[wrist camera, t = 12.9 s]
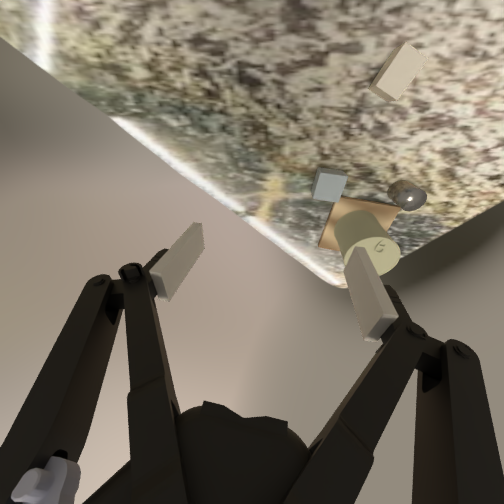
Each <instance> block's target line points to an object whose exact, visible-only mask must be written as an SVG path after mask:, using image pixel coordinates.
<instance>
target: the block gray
mask: <svg viewBox="0 0 504 504" xmlns="http://www.w3.org/2000/svg"><path fill="white" fill-rule="evenodd" d="M347 178H348V176H347V175H346V174H345V173H344V171H342V170H335V169H328V168H321V167H318V169H317V172H316V176H315V179H314V183H313V186H312V190H311V192H312V197H313V199H318V200H324V201H331V202H337V203H338V202H339V200H340V197H341V194H342V192H343V189H344V186H345V184H346V181H347Z"/></svg>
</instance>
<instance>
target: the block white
mask: <svg viewBox="0 0 504 504" xmlns="http://www.w3.org/2000/svg"><path fill="white" fill-rule="evenodd" d="M427 61H428V58H427V57H426V56H424V55H423V54H422V53H420V52H419V51H418V50H417V49H415V48H414V47H413V46H411V45H410V44H409V43H407V42H405V43H403V44H402V45H400V46H399V47H397V48H396V49H394V50H393V52H392V53H391V55H390V56H389V58H388V59H387V61H386V62H385V64H384V65H383V67H382V68H381V70H380V71H379V73H378V74H377V76H376V77H375V79H374V80H373V82H372V83H371V85H370V86H369V88H368V89H369V90H371V91H372V92H374V93H375V94H377V95H378V96H379V97H381V98H382V99H384V100H385V101H387V102H390V101H397V100H398V99H399V97H400V96H401V95H402V93H403V92H404V91H405V90H406V88H407V87H408V86H409V84H410V83H411V82H412V80H413V79H414V78H415V76H416V75H417V74H418V72H419V71H420V70H421V68H422V67H423V66H424V65H425V63H426V62H427Z"/></svg>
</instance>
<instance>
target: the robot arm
mask: <svg viewBox="0 0 504 504" xmlns="http://www.w3.org/2000/svg"><path fill="white" fill-rule="evenodd" d="M203 250H204V240H203V230H202V224H201V223H195V222H194V223H193V224H192V225H191V226H190V227H189V228H188V229H187V230H186V231H185V232H184V233H183V235H182V236H181V237H180V238H179V239H178V240H177V241H176V242H175V243H174V244H173V245H172V247H171V248H170V249H163V250H161V251H159V252H158V253H157V254H156V255H155V256H154V257H153V258H152V259H151V261H149V262H148V263H147V264H146V265H145V266H144V267H143V268H142V265H141V264H139V263H129V264H126V265H124V266H122V267H121V268H120V269H119V271H118V273H119V275H120V278H121V279H119V280H112V279H111V277H110V276H109V275H105V274H101V275H97V276H95V277H93V278H91V279H90V280H89V281H88V282H87V283H86V285H85V287H84V289H83V290H82V292H81V294H80V296H79V298H78V300H77V302H76V304H75V306H74V308H73V310H72V312H71V314H70V315H69V317H68V319H67V321H66V323H65V325H64V327H63V329H62V331H61V333H60V335H59V337H58V338H57V341H56V342H55V344H54V346H53V348H52V350H51V352H50V354H49V356H48V358H47V360H46V362H45V363H44V365H43V367H42V369H41V371H40V373H39V375H38V377H37V379H36V381H35V383H34V385H33V387H32V388H31V390H30V393H29V394H28V396H27V398H26V400H25V402H24V404H23V406H22V408H21V410H20V412H19V413H18V415H17V417H16V419H15V421H14V423H13V425H12V427H11V429H10V431H9V433H8V435H7V437H6V438H5V441H4V442H3V444H2V446H1V447H0V504H74V497H75V494H76V492H77V490H78V487H79V480H80V475H81V471H80V467H79V465H78V464H77V462H78V460H79V457H80V455H81V452H82V450H83V448H84V445H85V442H86V439H87V436H88V433H89V430H90V426H91V423H92V419H93V416H94V412H95V408H96V405H97V401H98V398H99V394H100V390H101V386H102V383H103V380H104V376H105V373H106V369H107V365H108V362H109V358H110V354H111V351H112V347H113V344H114V340H115V337H116V333H117V329H118V326H119V322H120V319H121V315H122V311H123V309H125V321H126V334H127V348H128V361H129V375H130V392H129V393H128V396H127V408H128V425H129V442H130V460H129V461H128V462H127V463H126V464H125V465H124V466H123V467H122V468H121V469H120V470H118V471H117V472H116V473H115V474H114V475H113V476H112V477H111V478H110V479H109V480H108V481H107V482H105V483H104V484H103V485H102V486H101V487H100V488H99V489H98V490H97V491H96V492H94V493H93V494H92V495H91V496H90V497H89V498H88V499H87V500H86V501H85V502H84V503H82V504H354V503H355V501H356V499H357V497H358V494H359V492H360V490H361V488H362V486H363V484H364V482H365V480H366V478H367V476H368V473H369V471H370V469H371V467H372V465H373V462H374V456H373V452H374V449H375V447H376V445H377V443H378V441H379V439H380V437H381V435H382V433H383V431H384V429H385V427H386V425H387V423H388V421H389V419H390V417H391V415H392V413H393V411H394V409H395V407H396V405H397V403H398V401H399V399H400V397H401V395H402V392H403V391H404V389H405V387H406V385H407V383H408V380H409V379H410V376H411V375H412V373H413V371H414V368H415V369H417V370H418V378H417V400H416V402H417V403H416V422H415V445H414V467H413V489H412V504H504V475H503V470H502V465H501V461H500V456H499V451H498V446H497V442H496V437H495V433H494V427H493V423H492V418H491V413H490V408H489V403H488V399H487V394H486V389H485V385H484V380H483V375H482V370H481V365H480V360H479V358H478V356H477V354H476V353H475V352H474V351H473V350H472V349H471V348H470V347H469V346H467V345H466V344H464V343H462V342H460V341H458V340H454V339H450V340H447V341H446V342H445V343H443V342H441V341H439V340H437V339H434V338H432V337H430V336H428V335H427V333H426V331H425V330H424V329H423V328H422V327H420V326H419V325H417V324H416V323H414V322H412V320H411V318H410V317H409V315H408V313H407V311H406V309H405V307H404V305H403V304H402V302H401V300H400V299H399V296H398V295H397V293H396V291H395V290H394V289H393V288H392V287H391V286H390V285H384V284H383V283H382V281H381V279H380V277H379V275H378V273H377V271H376V269H375V267H374V265H373V263H372V261H371V259H370V257H369V255H368V253H367V251H366V249H365V247H358V246H355V247H354V249H353V251H352V254H351V256H350V258H349V260H348V262H347V264H346V267H345V269H344V275H345V278H346V282H347V285H348V289H349V292H350V295H351V298H352V302H353V306H354V309H355V312H356V316H357V319H358V323H359V326H360V330H361V333H362V337H363V340H365V341H370V342H375V343H376V342H377V341H378V340H379V339H380V338H381V339H382V342H383V344H382V345H381V347H380V348H379V349H378V350H377V351H376V354H375V355H374V357H373V358H372V359H371V361H370V362H369V364H368V365H367V367H366V368H365V369H364V371H363V372H362V374H361V375H360V377H359V378H358V379H357V381H356V382H355V384H354V385H353V387H352V388H351V389H350V391H349V392H348V394H347V395H346V397H345V398H344V399H343V401H342V402H341V404H340V405H339V407H338V408H337V409H336V411H335V412H334V414H333V415H332V417H331V418H330V419H329V421H328V422H327V424H326V425H325V427H324V428H323V430H322V431H321V432H320V433H319V435H318V436H317V437H316V439H315V440H314V441H313V442H312V444H311V445H310V447H309V448H307V446H306V445H305V443H304V442H303V441H302V440H301V438H299V436H298V435H297V434H296V433H295V432H293V431H292V430H291V429H289V428H288V422H287V421H284V420H280V419H276V418H272V417H267V416H263V417H251V418H243V417H241V416H239V415H238V414H236V413H235V412H233V411H231V410H230V409H228V408H227V407H225V406H224V405H220V404H216V403H212V402H208V401H204V402H203V405H202V406H197V407H193V408H191V409H188V410H187V411H185V412H183V413H182V414H181V412H180V409H179V405H178V401H177V398H176V394H175V390H174V385H173V381H172V376H171V372H170V367H169V363H168V358H167V354H166V349H165V345H164V340H163V336H162V332H161V327H160V323H159V318H158V313H157V309H156V304H155V300H154V298H155V297H156V295H158V298H159V300H163V301H168V302H169V301H170V300H171V298H172V297H173V295H174V294H175V292H176V291H177V289H178V288H179V286H180V285H181V283H182V282H183V280H184V278H185V277H186V276H187V274H188V272H189V271H190V269H191V268H192V266H193V265H194V264H195V262H196V260H197V259H198V257H199V256H200V254H201V253H202V251H203Z"/></svg>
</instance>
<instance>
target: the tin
mask: <svg viewBox="0 0 504 504" xmlns="http://www.w3.org/2000/svg"><path fill="white" fill-rule="evenodd" d="M387 194H388V197H389V198H390V199H391V200H393V201H394V202H395V203H396V204H397V205H398V206H400V207H401V208H402V209H403V210H405V211H413V210H416V209H418V208H420V207H421V206H422V205H423V204H424V203H425V202H426V199H427V194H426V192H425V191H423V190H421V189H420V188H418V187H416V186H414V185H413V184H411V183H409V182H407V181H405V180H400V181H397V182H395V183H393V184H392V185H391V186H390V187H389V189H388V192H387Z"/></svg>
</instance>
